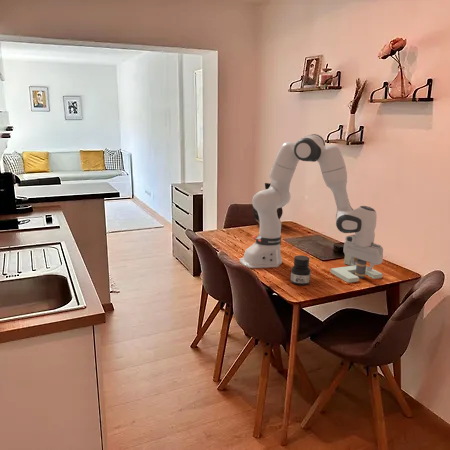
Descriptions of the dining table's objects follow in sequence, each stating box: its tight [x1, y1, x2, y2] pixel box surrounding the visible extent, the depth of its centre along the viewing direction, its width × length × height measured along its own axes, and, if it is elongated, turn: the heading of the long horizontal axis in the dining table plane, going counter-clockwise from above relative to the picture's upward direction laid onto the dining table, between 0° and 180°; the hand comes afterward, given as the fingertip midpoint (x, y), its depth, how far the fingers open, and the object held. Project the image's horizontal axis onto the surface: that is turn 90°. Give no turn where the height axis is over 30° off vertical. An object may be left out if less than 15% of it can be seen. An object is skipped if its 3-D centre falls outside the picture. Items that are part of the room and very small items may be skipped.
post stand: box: [329, 259, 383, 283], centre depth 201 cm, size 22×14×18 cm, turn 111°
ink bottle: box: [290, 254, 312, 286], centre depth 191 cm, size 10×9×12 cm
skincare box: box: [343, 254, 358, 266], centre depth 217 cm, size 6×4×12 cm
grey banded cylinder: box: [354, 260, 368, 279], centre depth 200 cm, size 5×5×8 cm
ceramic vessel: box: [252, 182, 284, 225], centre depth 289 cm, size 21×18×30 cm
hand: (361, 267), depth 200 cm, fingers open, 8 cm apart
